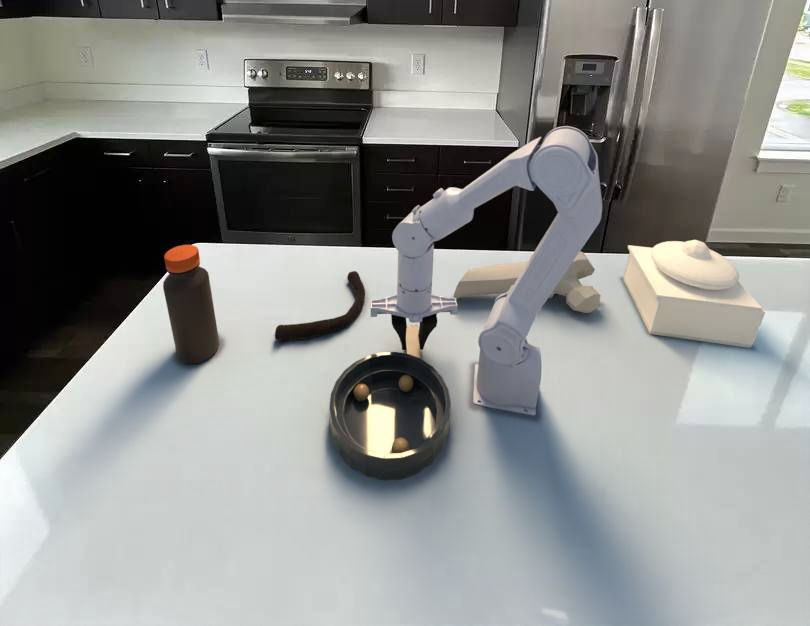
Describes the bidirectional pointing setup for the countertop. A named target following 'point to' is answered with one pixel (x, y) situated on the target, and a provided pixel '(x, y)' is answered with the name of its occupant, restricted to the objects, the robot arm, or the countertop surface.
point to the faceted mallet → (506, 275)
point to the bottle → (190, 305)
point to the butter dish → (691, 294)
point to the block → (412, 341)
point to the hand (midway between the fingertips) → (412, 345)
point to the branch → (326, 325)
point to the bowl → (389, 415)
